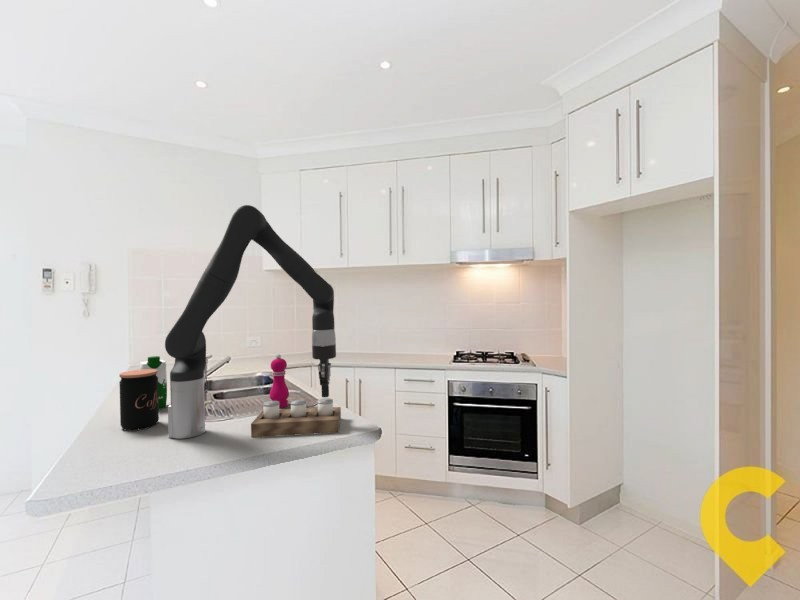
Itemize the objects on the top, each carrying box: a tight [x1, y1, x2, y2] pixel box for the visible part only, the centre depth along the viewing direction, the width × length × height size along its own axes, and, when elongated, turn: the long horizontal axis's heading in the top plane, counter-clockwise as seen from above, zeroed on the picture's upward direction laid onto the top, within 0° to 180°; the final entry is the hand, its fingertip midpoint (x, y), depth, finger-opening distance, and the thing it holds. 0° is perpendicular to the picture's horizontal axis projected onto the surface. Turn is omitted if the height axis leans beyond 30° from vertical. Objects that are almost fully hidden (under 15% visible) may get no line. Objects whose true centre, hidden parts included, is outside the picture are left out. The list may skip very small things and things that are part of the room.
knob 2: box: [316, 397, 334, 417], centre depth 128 cm, size 5×5×5 cm
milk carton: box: [139, 355, 168, 410], centre depth 154 cm, size 9×9×20 cm
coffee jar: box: [119, 369, 160, 431], centre depth 131 cm, size 11×11×18 cm
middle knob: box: [290, 399, 307, 418], centre depth 127 cm, size 5×5×5 cm
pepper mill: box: [269, 353, 290, 409], centre depth 152 cm, size 7×7×20 cm
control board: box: [250, 406, 342, 438], centre depth 127 cm, size 26×14×4 cm, turn 96°
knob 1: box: [262, 400, 280, 419], centre depth 126 cm, size 5×5×5 cm
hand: (325, 396), depth 128 cm, fingers closed
